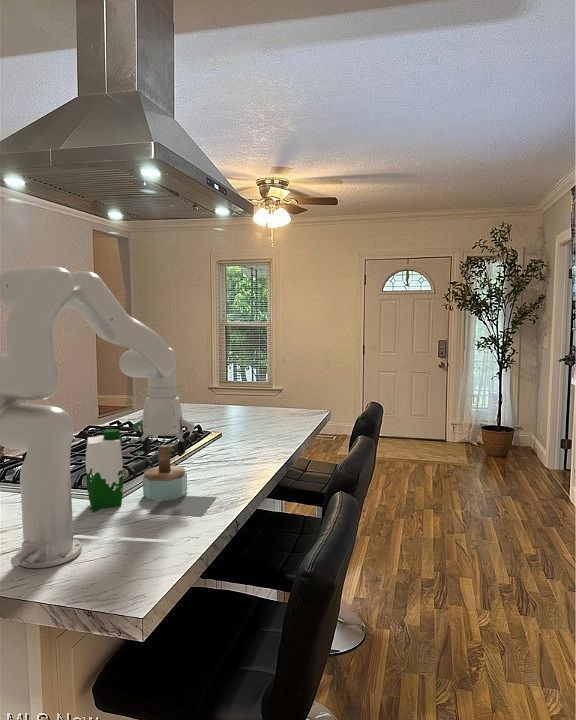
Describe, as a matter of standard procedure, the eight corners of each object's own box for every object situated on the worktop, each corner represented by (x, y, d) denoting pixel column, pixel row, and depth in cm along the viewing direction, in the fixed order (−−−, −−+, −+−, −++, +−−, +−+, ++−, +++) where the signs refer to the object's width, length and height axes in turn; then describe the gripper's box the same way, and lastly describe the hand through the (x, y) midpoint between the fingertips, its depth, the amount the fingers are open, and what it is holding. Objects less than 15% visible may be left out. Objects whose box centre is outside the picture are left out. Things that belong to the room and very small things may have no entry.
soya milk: (125, 509, 139) (122, 433, 137) (87, 513, 135) (84, 436, 134) (122, 498, 147) (120, 426, 145) (87, 502, 144) (84, 429, 142)
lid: (177, 481, 141) (176, 451, 141) (137, 480, 143) (136, 450, 142) (190, 469, 152) (189, 442, 152) (153, 468, 154) (152, 441, 153)
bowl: (177, 503, 142) (177, 481, 141) (138, 502, 143) (137, 480, 143) (191, 490, 153) (190, 469, 152) (154, 488, 154) (153, 468, 154)
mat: (202, 518, 131) (202, 516, 131) (147, 516, 133) (147, 514, 133) (217, 499, 145) (217, 497, 145) (167, 497, 147) (167, 495, 147)
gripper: (126, 394, 143) (128, 457, 145) (188, 395, 141) (190, 459, 142) (137, 390, 151) (140, 450, 152) (197, 391, 148) (198, 451, 150)
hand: (164, 454), depth 147 cm, fingers open, 9 cm apart
